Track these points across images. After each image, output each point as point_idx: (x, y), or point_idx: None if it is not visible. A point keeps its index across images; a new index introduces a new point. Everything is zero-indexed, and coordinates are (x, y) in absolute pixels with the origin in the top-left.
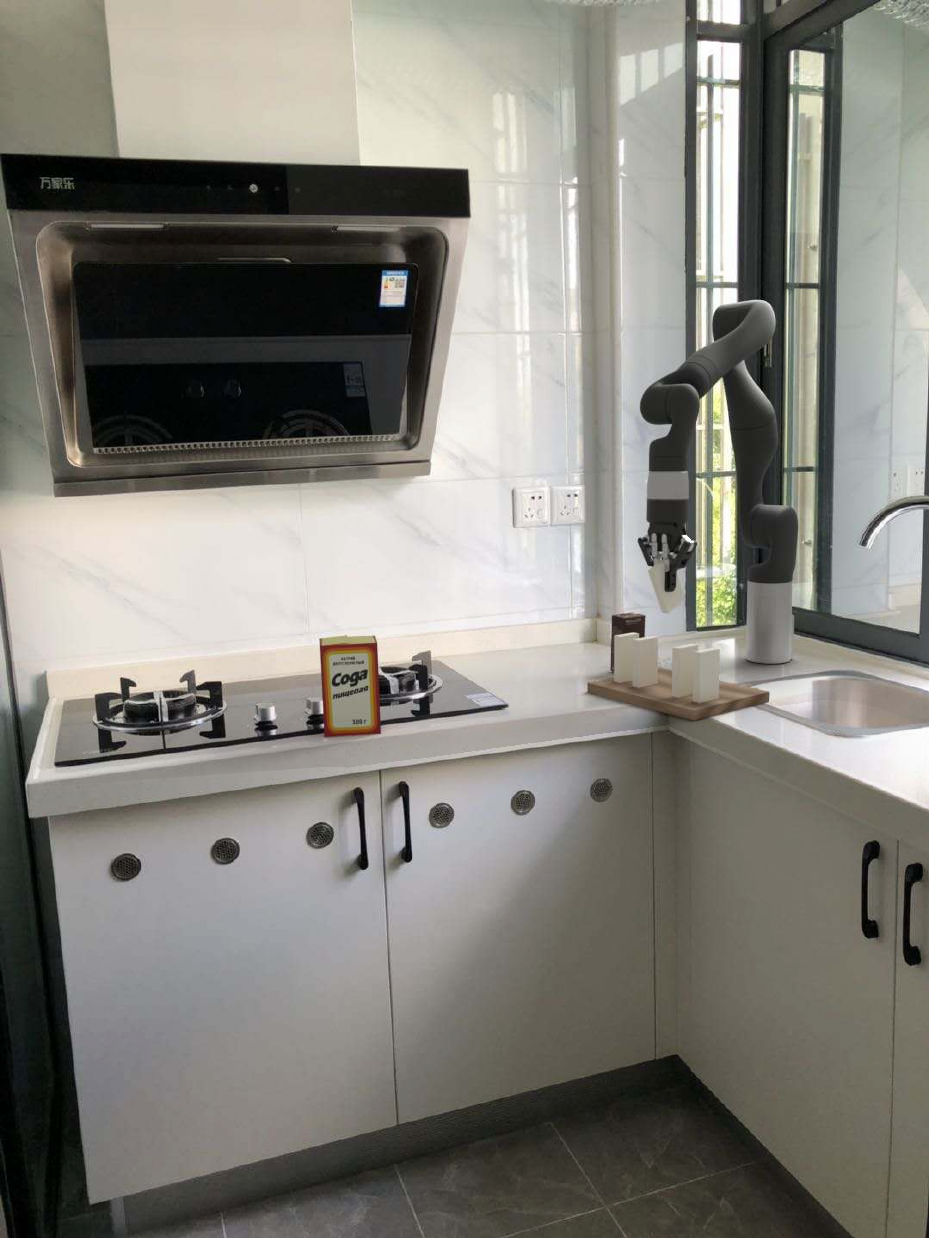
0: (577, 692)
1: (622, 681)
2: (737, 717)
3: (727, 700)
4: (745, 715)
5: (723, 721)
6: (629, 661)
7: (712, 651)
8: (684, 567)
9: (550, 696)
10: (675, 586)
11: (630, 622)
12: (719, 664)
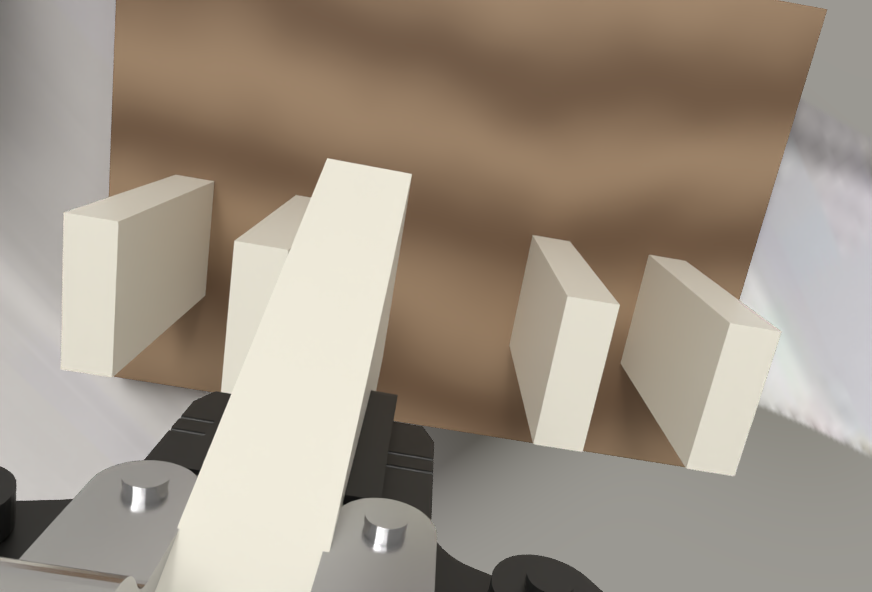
0: (98, 388)
1: (204, 282)
2: (788, 319)
3: (730, 269)
4: (803, 277)
5: (767, 393)
6: (176, 261)
7: (760, 387)
8: (574, 580)
9: (74, 492)
10: (430, 446)
11: None
12: (744, 305)
